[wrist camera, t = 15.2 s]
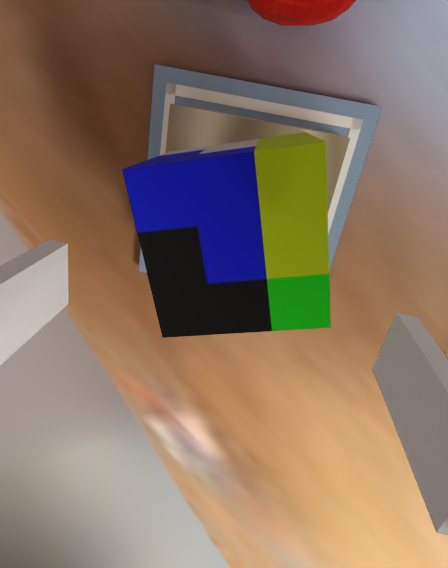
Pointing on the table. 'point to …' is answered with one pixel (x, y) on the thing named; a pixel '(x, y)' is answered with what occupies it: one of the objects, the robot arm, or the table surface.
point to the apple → (300, 10)
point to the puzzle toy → (235, 235)
